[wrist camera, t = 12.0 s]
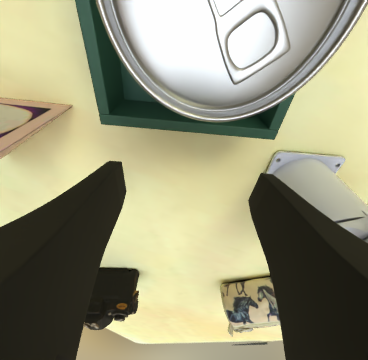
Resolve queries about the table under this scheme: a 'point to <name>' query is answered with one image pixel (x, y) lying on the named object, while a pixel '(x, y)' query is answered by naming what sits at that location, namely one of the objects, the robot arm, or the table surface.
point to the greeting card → (24, 121)
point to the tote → (145, 104)
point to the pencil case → (250, 305)
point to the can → (226, 49)
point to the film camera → (112, 297)
